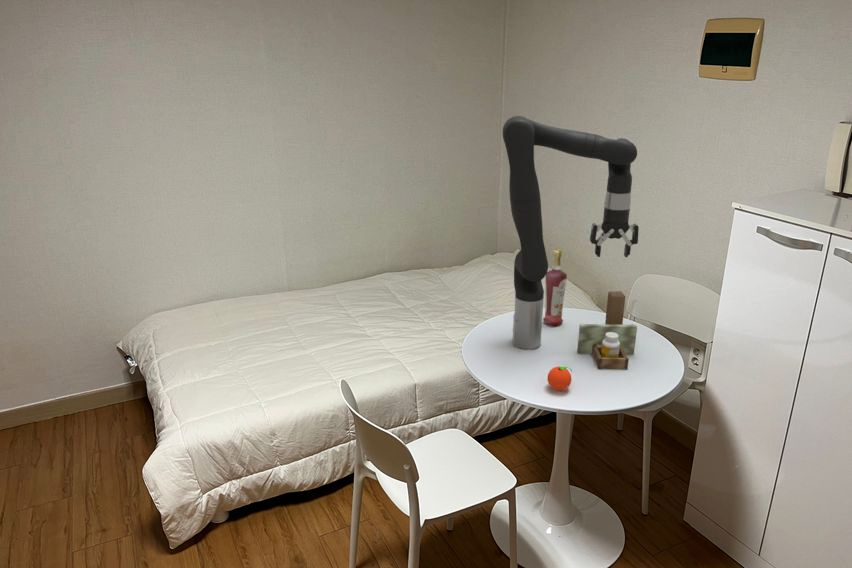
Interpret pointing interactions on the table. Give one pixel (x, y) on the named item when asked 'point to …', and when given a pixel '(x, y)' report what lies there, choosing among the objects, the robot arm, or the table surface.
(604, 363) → the board
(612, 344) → the supplement bottle
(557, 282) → the liquor
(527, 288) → the robot arm
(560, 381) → the clementine
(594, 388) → the table surface
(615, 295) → the wooden block
